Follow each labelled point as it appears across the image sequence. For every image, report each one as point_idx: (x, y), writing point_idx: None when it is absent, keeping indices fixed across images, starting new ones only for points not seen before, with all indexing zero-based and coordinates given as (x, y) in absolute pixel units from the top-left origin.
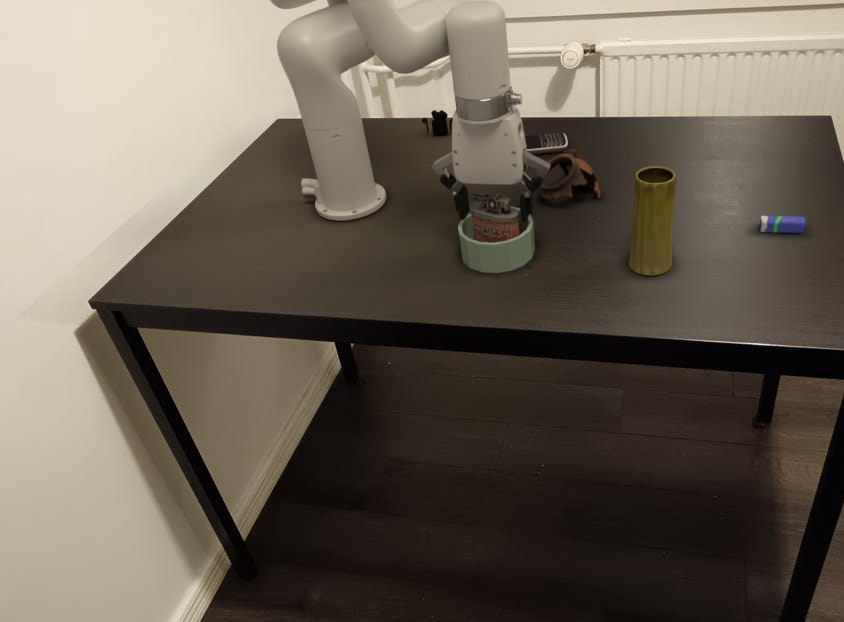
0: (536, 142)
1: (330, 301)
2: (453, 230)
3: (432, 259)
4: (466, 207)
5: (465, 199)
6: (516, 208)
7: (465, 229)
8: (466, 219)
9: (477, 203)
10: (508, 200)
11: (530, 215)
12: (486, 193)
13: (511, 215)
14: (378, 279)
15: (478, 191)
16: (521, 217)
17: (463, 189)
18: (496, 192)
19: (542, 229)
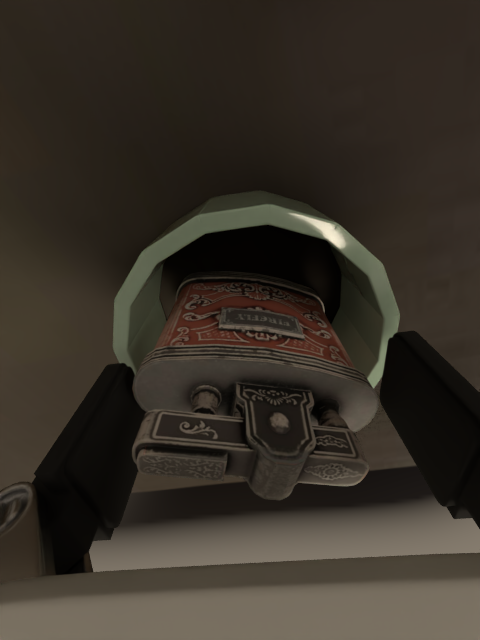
0: None
1: (31, 483)
2: (52, 216)
3: (104, 359)
4: (131, 419)
5: (115, 454)
6: (305, 221)
7: (142, 337)
8: (129, 341)
9: (156, 375)
10: (362, 477)
11: (383, 269)
12: (219, 464)
13: (349, 423)
14: (52, 432)
15: (160, 458)
16: (389, 414)
17: (77, 506)
18: (281, 465)
19: (359, 126)
